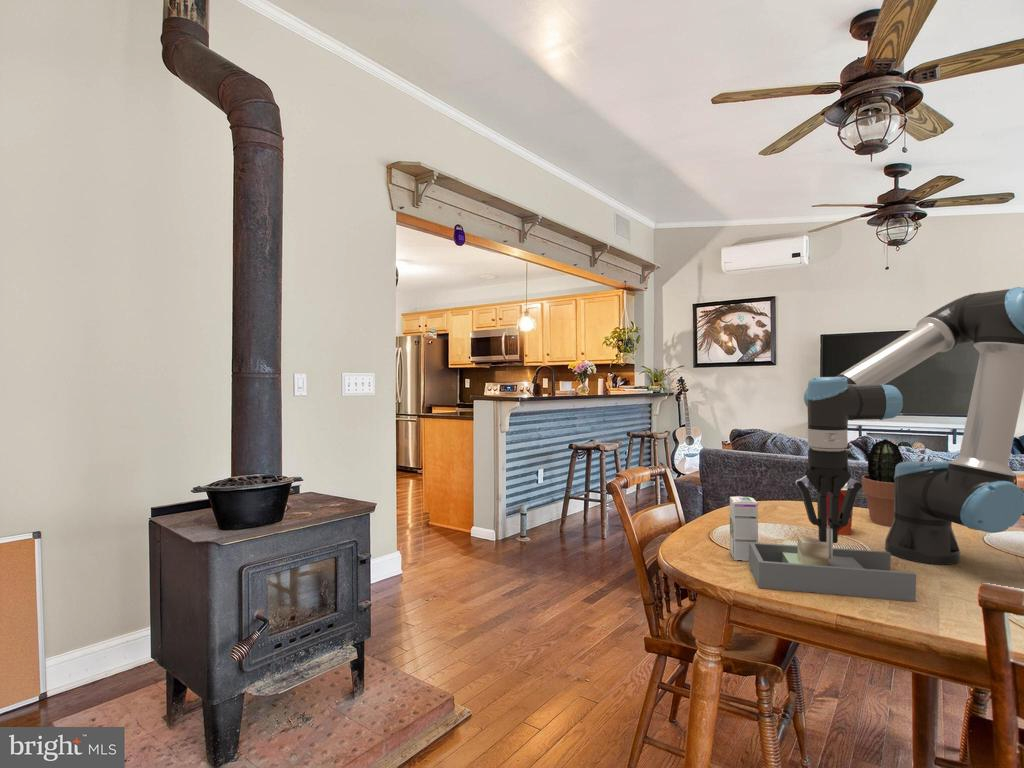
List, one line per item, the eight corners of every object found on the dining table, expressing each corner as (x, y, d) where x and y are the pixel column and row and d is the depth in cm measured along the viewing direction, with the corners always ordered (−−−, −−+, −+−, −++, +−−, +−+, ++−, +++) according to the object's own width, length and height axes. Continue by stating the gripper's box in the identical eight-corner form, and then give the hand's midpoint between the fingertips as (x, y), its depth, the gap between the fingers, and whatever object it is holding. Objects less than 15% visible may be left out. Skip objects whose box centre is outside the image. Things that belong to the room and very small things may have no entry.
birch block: (822, 559, 126) (822, 537, 126) (828, 567, 122) (828, 544, 121) (797, 558, 128) (797, 536, 127) (803, 565, 123) (802, 542, 123)
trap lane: (888, 576, 127) (888, 551, 127) (915, 601, 114) (916, 574, 114) (748, 565, 135) (749, 542, 134) (758, 587, 121) (759, 562, 121)
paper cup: (854, 537, 155) (855, 486, 155) (822, 533, 159) (823, 483, 159) (855, 530, 162) (856, 481, 162) (824, 526, 166) (825, 478, 166)
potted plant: (928, 528, 163) (929, 441, 162) (880, 529, 163) (882, 442, 162) (895, 516, 177) (896, 435, 176) (851, 516, 177) (852, 436, 176)
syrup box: (758, 562, 137) (759, 502, 136) (732, 560, 138) (733, 501, 137) (753, 554, 142) (754, 496, 142) (728, 553, 143) (729, 495, 143)
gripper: (799, 450, 121) (800, 561, 122) (866, 451, 118) (866, 564, 118) (791, 445, 128) (792, 550, 129) (854, 446, 125) (854, 553, 126)
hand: (828, 557), depth 124 cm, fingers closed
